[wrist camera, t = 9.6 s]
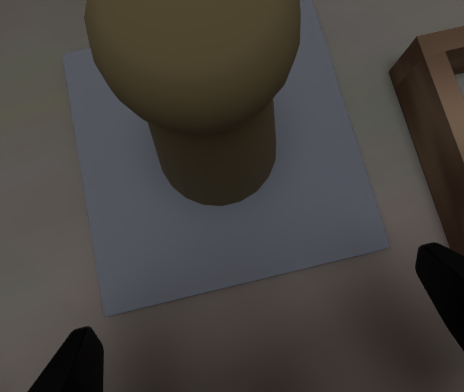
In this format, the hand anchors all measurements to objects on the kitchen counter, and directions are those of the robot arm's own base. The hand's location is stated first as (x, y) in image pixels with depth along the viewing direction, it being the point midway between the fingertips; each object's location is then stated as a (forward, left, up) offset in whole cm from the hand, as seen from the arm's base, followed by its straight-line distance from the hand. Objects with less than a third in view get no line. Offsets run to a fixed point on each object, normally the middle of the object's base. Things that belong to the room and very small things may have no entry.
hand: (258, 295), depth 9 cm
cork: (+7, 0, -8) cm, 10 cm away
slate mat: (+7, 0, -8) cm, 10 cm away
